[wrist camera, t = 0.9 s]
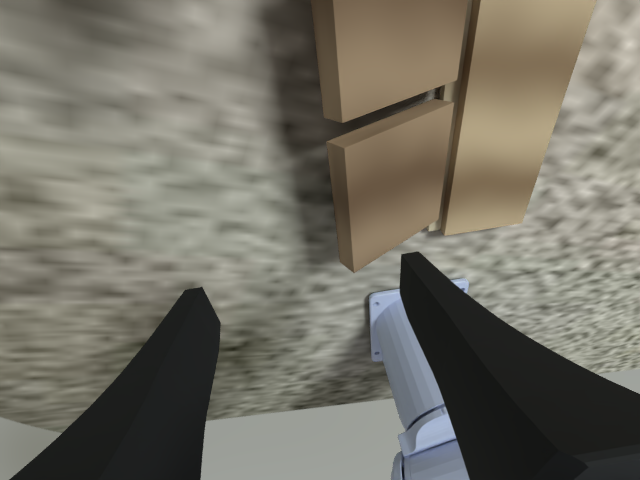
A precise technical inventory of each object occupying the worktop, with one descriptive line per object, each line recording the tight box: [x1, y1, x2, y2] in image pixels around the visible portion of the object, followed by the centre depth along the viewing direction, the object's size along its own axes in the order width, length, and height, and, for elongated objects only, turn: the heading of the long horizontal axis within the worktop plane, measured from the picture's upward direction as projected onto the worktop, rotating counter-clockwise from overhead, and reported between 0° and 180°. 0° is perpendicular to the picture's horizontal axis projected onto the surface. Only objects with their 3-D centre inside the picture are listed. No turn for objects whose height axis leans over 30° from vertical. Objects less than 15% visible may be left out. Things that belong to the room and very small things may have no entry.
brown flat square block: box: [327, 99, 454, 273], centre depth 17 cm, size 7×7×1 cm
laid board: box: [426, 0, 597, 236], centre depth 16 cm, size 18×6×1 cm, turn 7°
